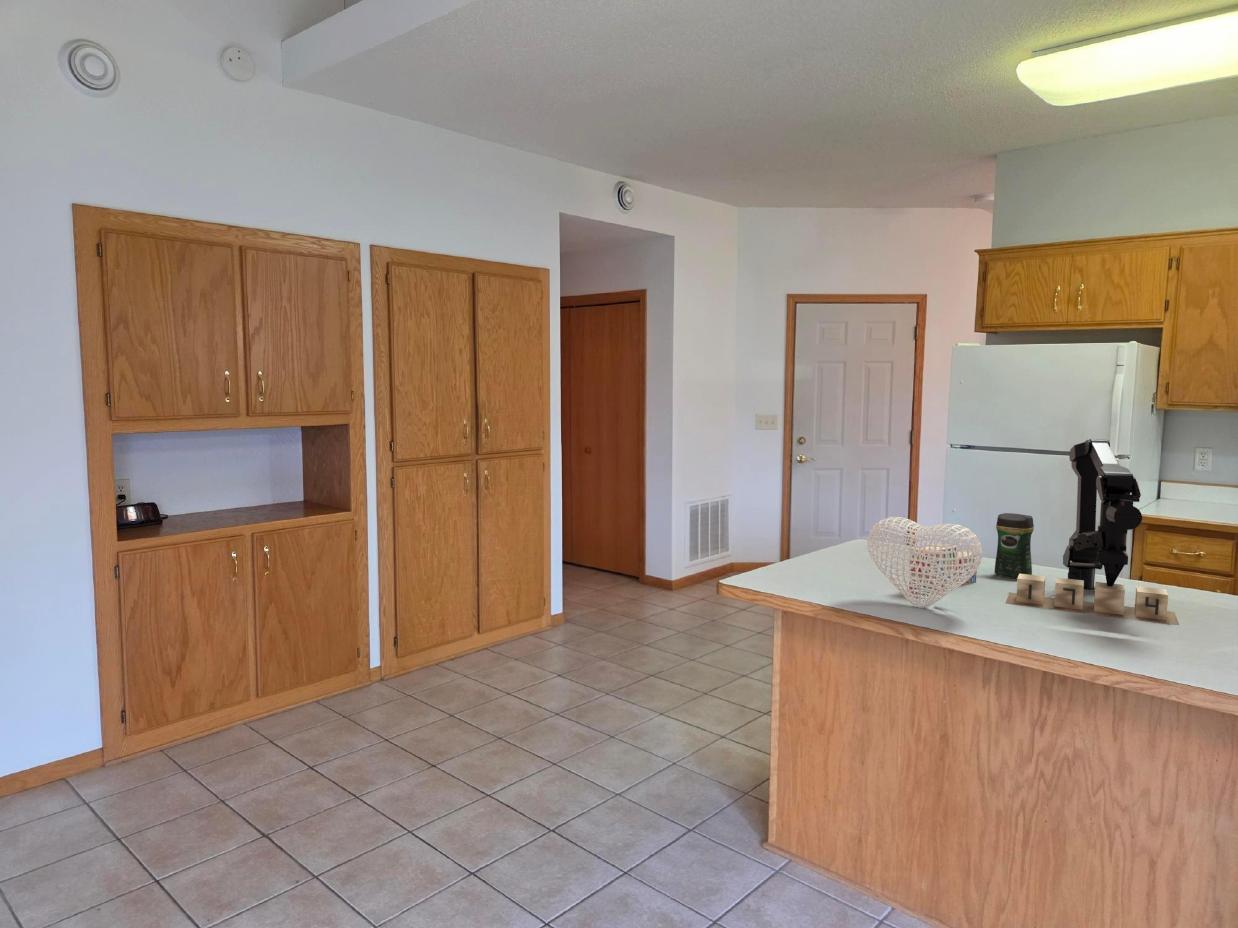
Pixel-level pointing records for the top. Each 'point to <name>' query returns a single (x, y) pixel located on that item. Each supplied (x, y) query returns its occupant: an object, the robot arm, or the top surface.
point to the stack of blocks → (970, 580)
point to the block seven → (1069, 593)
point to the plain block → (1109, 598)
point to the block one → (1030, 589)
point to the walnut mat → (1089, 609)
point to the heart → (919, 531)
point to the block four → (1151, 603)
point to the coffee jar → (1013, 545)
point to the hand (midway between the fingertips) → (1109, 585)
